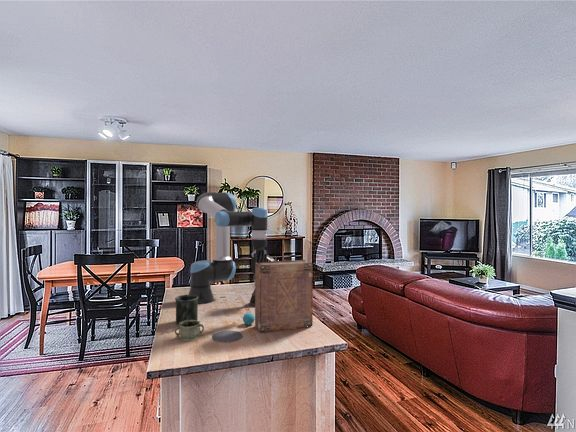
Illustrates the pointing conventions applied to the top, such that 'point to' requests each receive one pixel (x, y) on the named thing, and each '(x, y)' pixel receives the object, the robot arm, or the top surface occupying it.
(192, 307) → the mug
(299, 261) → the book
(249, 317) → the ball
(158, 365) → the top surface
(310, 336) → the top surface
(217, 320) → the top surface
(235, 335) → the disc
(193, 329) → the vessel
